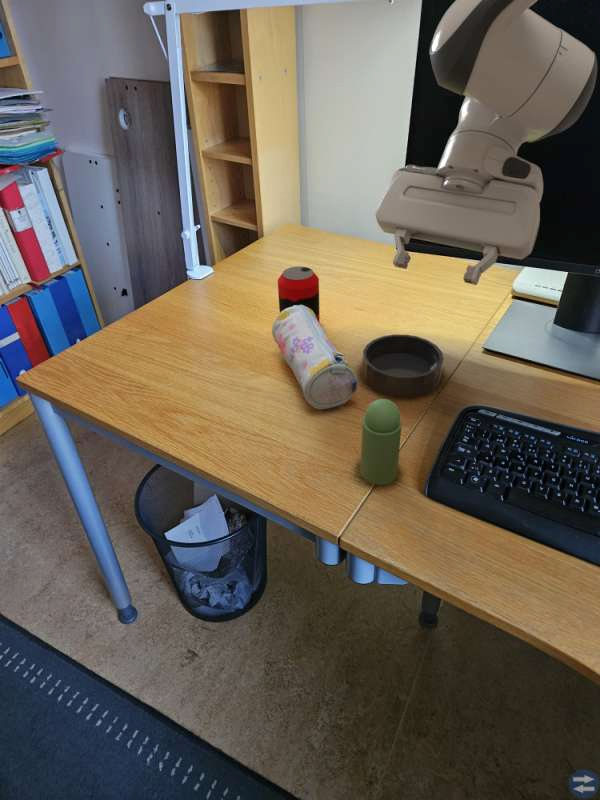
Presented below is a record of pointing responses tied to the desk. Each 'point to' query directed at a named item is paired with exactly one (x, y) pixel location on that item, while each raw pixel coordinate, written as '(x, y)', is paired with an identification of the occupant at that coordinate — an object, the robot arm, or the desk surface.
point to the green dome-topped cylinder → (380, 442)
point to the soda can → (299, 289)
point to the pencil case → (313, 358)
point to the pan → (402, 365)
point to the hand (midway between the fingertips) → (433, 274)
